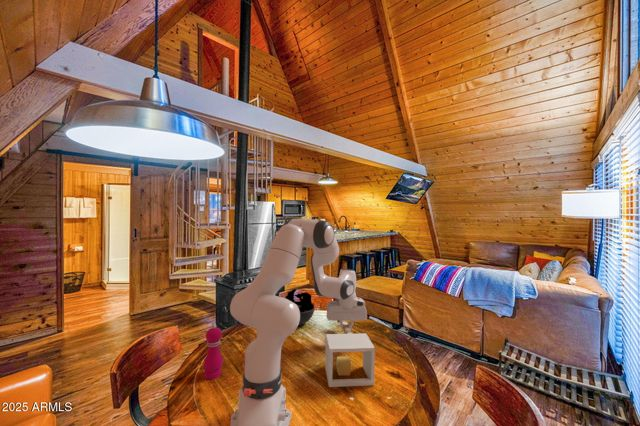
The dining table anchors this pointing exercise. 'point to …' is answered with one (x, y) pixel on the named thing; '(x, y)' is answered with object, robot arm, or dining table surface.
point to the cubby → (350, 345)
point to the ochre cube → (343, 365)
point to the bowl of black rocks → (302, 305)
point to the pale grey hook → (346, 327)
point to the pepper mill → (213, 354)
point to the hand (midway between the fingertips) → (346, 328)
